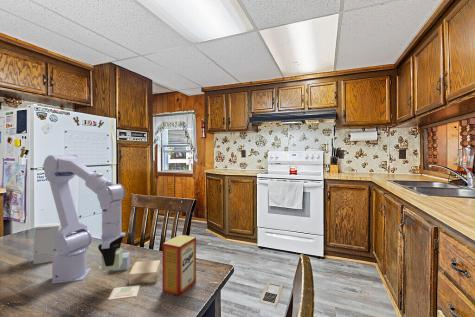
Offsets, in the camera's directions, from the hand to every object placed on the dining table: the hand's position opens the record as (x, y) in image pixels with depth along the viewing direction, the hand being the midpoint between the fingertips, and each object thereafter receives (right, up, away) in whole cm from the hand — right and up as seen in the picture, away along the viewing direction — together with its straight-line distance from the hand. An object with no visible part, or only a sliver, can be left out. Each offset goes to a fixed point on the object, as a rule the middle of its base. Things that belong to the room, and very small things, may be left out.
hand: (112, 261), depth 77 cm
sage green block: (0, -2, 0) cm, 2 cm away
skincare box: (-37, -8, +19) cm, 42 cm away
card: (+6, -9, -4) cm, 11 cm away
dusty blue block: (-3, -8, +13) cm, 16 cm away
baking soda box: (+23, -9, +1) cm, 24 cm away
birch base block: (+9, -9, +6) cm, 14 cm away
